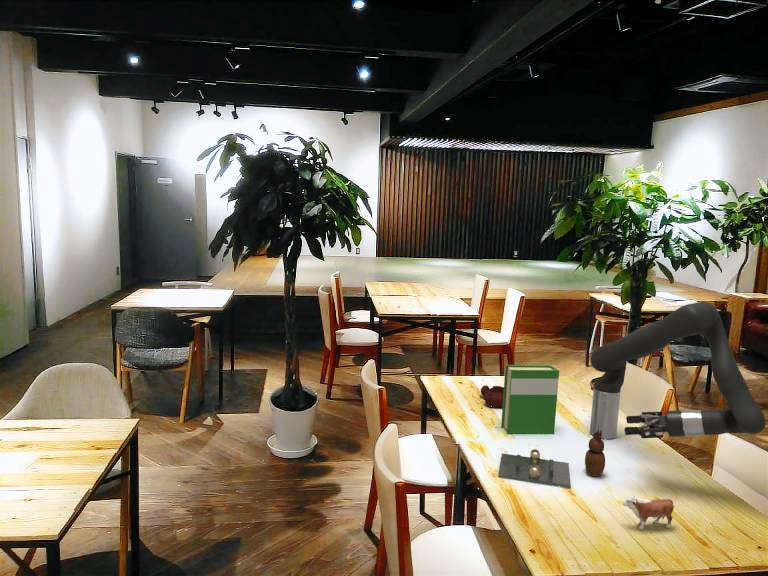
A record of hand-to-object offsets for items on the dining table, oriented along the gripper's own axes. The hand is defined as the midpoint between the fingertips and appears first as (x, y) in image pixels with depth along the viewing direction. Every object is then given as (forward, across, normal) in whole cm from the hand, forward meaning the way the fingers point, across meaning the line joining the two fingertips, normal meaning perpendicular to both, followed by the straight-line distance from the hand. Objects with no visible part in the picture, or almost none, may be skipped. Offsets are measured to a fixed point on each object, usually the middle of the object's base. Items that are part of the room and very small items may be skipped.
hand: (625, 425), depth 176 cm
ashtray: (+54, -49, +9) cm, 73 cm away
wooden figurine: (+12, +4, +14) cm, 19 cm away
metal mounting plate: (+28, +12, +9) cm, 31 cm away
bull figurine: (-4, +29, +16) cm, 34 cm away
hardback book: (+37, -22, +10) cm, 44 cm away
